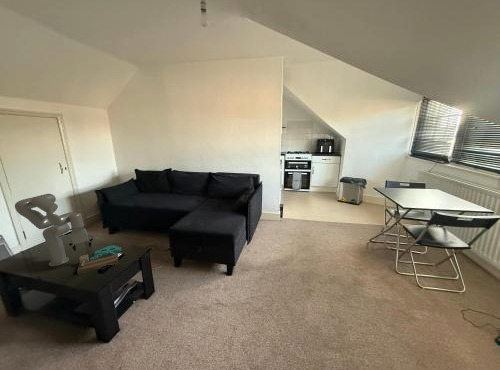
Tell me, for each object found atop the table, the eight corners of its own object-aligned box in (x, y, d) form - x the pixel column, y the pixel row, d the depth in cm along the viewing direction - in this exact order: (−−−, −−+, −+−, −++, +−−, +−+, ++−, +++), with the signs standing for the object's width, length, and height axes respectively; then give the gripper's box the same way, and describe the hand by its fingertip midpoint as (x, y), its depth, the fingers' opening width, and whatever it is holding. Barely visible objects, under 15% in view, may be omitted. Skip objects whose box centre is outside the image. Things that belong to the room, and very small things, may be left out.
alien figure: (117, 256, 184) (123, 246, 202) (116, 254, 183) (122, 243, 202) (90, 261, 178) (98, 249, 196) (89, 258, 177) (98, 247, 196)
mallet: (81, 263, 173) (80, 256, 172) (89, 262, 176) (87, 254, 174) (79, 272, 162) (77, 264, 160) (87, 270, 164) (85, 262, 163)
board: (80, 266, 169) (79, 263, 169) (118, 257, 182) (117, 253, 182) (77, 274, 159) (77, 271, 159) (118, 263, 172) (117, 260, 172)
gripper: (63, 233, 158) (68, 253, 162) (91, 227, 167) (95, 247, 171) (65, 229, 165) (69, 249, 168) (92, 224, 174) (96, 243, 177)
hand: (82, 248), depth 170 cm, fingers open, 9 cm apart
